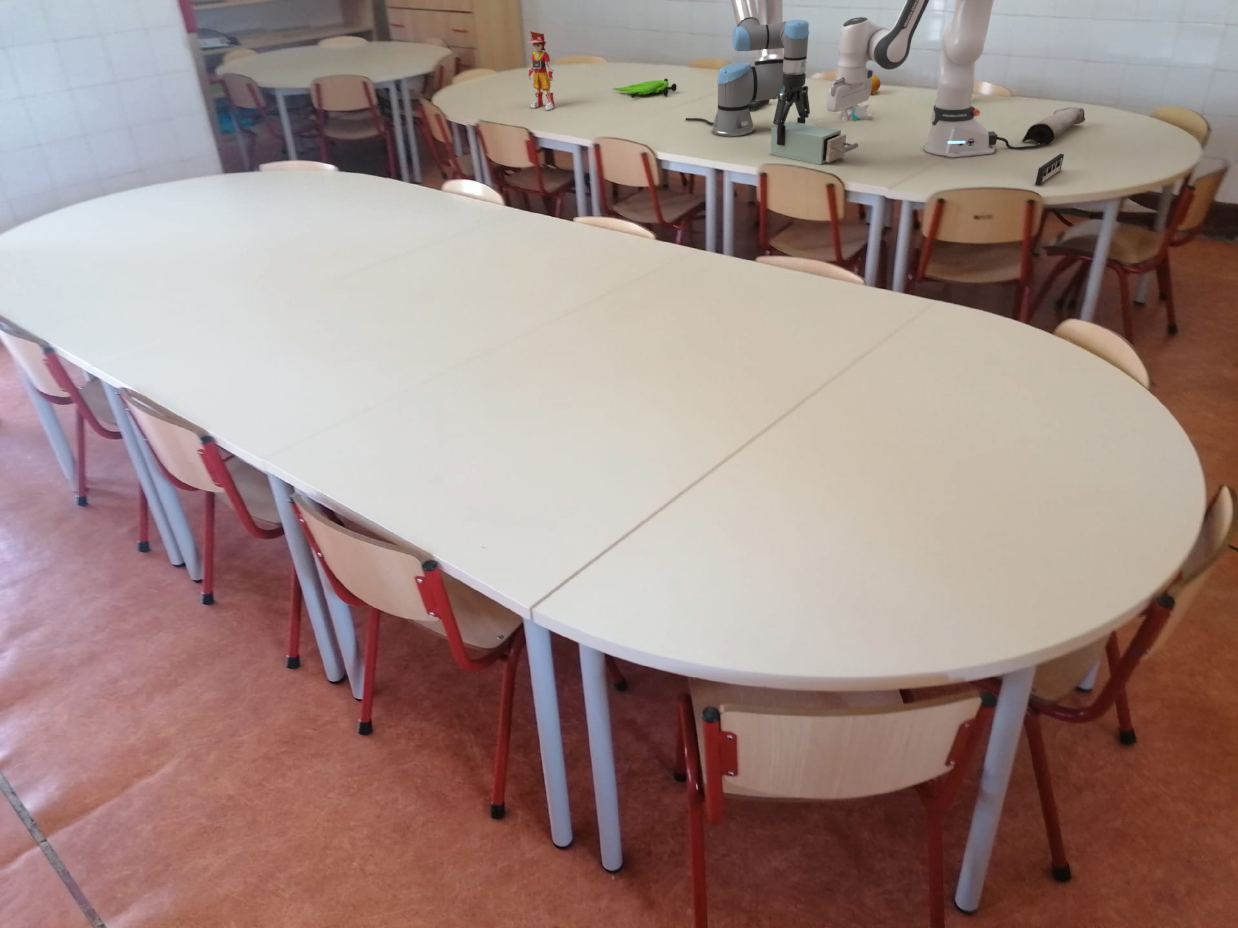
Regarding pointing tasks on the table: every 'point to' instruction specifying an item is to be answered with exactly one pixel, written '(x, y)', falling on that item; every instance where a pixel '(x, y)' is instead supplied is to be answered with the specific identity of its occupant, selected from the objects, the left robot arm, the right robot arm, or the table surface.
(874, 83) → the fruit
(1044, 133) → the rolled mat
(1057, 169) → the midi keyboard
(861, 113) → the anatomical model
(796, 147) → the cabinet
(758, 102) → the disk drive
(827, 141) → the drawer
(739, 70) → the left robot arm
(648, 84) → the toy
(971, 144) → the right robot arm
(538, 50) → the toy
